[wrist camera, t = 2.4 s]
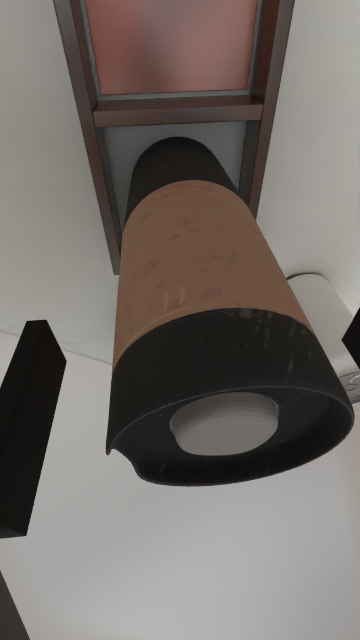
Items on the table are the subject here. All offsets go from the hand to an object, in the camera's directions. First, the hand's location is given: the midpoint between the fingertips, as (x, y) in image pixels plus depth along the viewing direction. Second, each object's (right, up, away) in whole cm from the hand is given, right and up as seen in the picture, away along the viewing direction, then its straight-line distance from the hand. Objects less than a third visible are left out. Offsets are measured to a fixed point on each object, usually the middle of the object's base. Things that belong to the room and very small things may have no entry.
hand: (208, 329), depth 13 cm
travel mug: (-1, +11, +10) cm, 15 cm away
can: (+12, +3, +20) cm, 23 cm away
